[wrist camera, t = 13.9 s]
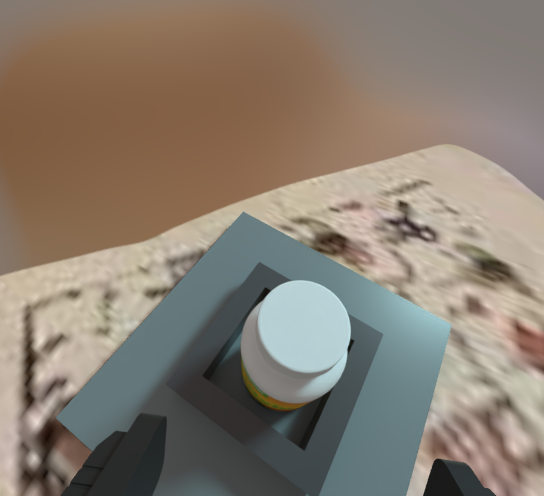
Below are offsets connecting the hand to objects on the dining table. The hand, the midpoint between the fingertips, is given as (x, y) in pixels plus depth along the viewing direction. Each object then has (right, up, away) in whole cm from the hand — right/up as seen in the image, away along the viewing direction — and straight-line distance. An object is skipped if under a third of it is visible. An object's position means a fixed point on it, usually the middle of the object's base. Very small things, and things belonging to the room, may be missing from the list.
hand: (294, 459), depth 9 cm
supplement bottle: (0, -2, +12) cm, 12 cm away
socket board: (0, -3, +13) cm, 13 cm away
